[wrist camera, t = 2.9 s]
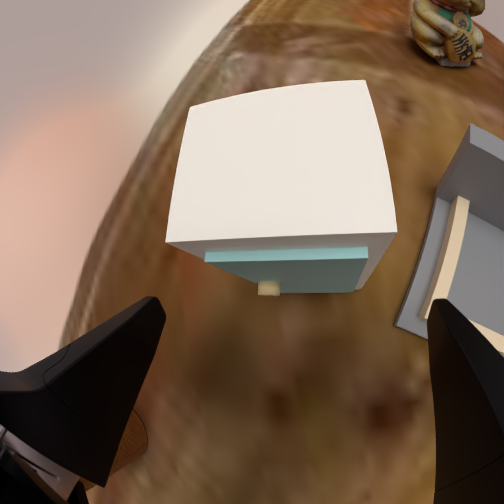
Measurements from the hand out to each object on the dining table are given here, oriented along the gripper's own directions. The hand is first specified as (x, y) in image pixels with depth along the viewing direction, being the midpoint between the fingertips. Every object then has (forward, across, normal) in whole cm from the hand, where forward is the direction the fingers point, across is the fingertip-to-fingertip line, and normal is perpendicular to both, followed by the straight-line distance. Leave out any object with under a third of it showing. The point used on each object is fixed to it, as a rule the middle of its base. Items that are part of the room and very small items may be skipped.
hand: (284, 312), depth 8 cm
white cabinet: (+11, 0, +5) cm, 12 cm away
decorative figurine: (+28, -17, -12) cm, 35 cm away
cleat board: (+9, -14, +6) cm, 18 cm away
